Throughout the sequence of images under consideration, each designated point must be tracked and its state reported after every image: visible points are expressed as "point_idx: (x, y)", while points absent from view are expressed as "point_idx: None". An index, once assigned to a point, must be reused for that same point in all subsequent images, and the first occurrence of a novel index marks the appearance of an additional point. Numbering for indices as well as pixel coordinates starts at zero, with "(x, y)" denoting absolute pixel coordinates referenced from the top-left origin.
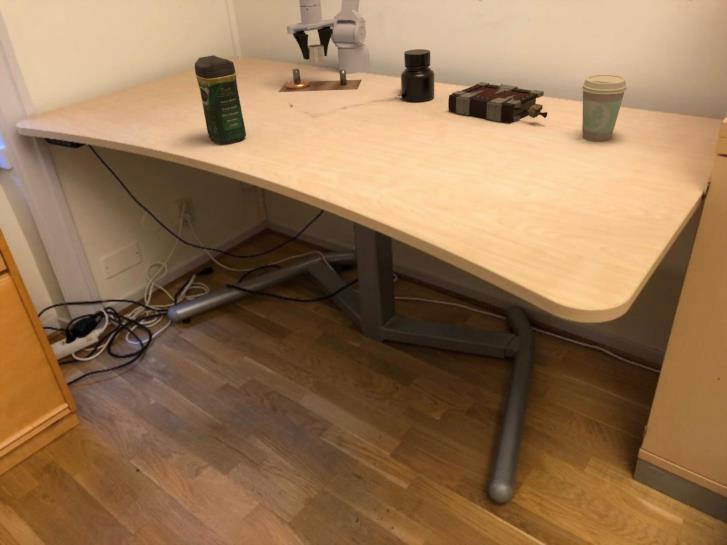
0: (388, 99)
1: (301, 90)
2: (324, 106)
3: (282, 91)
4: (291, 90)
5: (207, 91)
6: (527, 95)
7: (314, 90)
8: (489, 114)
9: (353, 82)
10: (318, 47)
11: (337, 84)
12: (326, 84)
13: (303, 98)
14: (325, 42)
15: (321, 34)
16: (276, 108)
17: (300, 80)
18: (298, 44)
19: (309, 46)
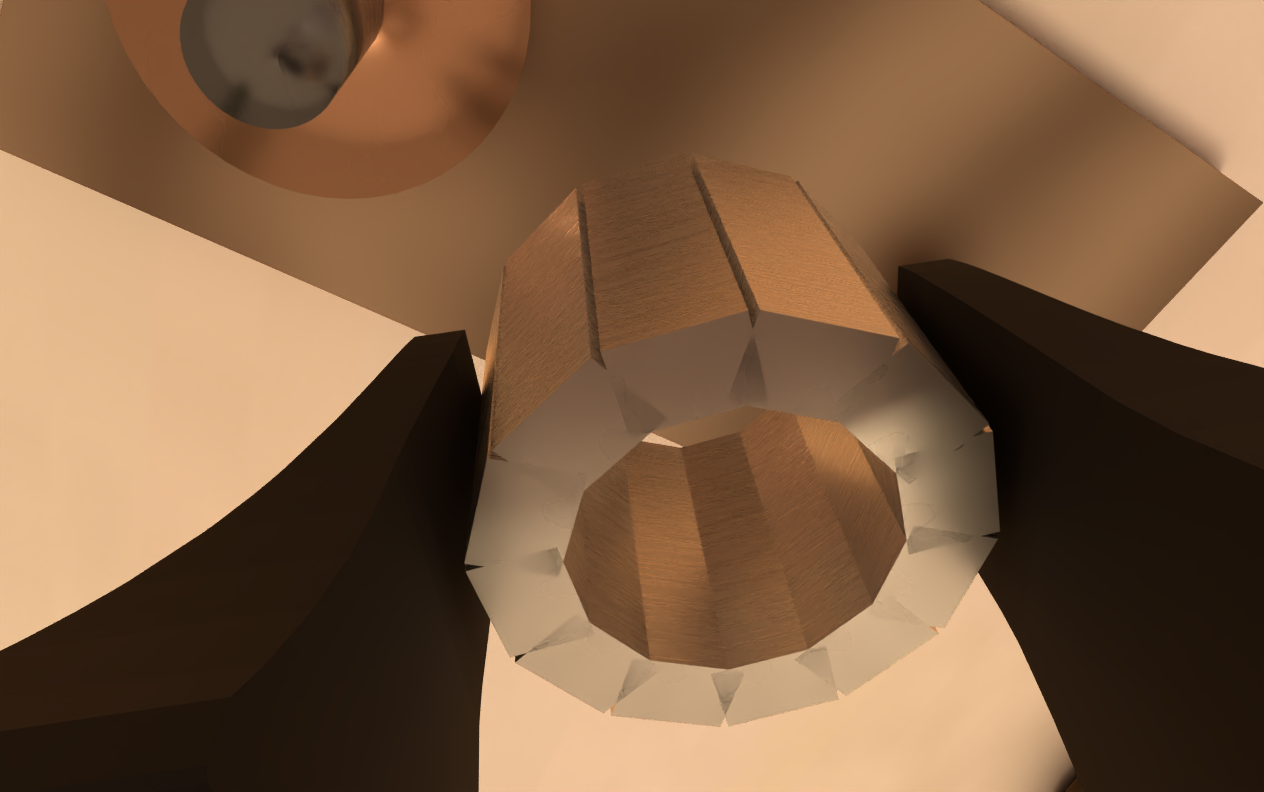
0: (1005, 732)
1: (346, 266)
2: (487, 678)
3: (52, 153)
4: (200, 182)
5: None
6: None
7: None
8: None
9: (1086, 282)
10: (745, 717)
11: (881, 253)
12: (764, 160)
13: (354, 352)
14: (1040, 675)
15: (1197, 700)
16: (9, 542)
17: (373, 40)
18: (223, 520)
19: (616, 452)
